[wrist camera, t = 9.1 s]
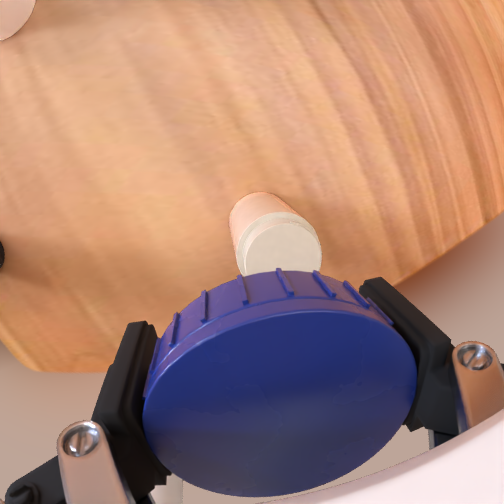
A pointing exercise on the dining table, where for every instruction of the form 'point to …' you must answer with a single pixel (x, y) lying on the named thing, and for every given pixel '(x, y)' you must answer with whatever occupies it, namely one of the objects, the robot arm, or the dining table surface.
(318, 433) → the lid
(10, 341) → the dining table surface
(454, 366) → the robot arm
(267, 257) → the jar
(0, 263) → the drinking cup
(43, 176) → the dining table surface
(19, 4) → the cylindrical container
